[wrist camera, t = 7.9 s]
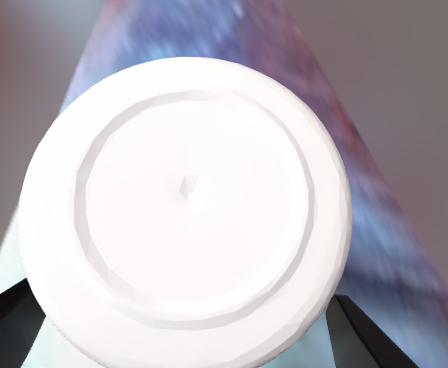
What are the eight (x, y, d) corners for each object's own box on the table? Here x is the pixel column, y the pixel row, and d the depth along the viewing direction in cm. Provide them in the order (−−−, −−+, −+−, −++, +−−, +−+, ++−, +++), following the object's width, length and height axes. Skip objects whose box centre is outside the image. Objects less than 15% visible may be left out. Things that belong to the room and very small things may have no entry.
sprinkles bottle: (202, 298, 15) (170, 523, 2) (151, 241, 16) (-80, 179, 3) (256, 243, 16) (435, 198, 3) (206, 191, 17) (202, -8, 4)
